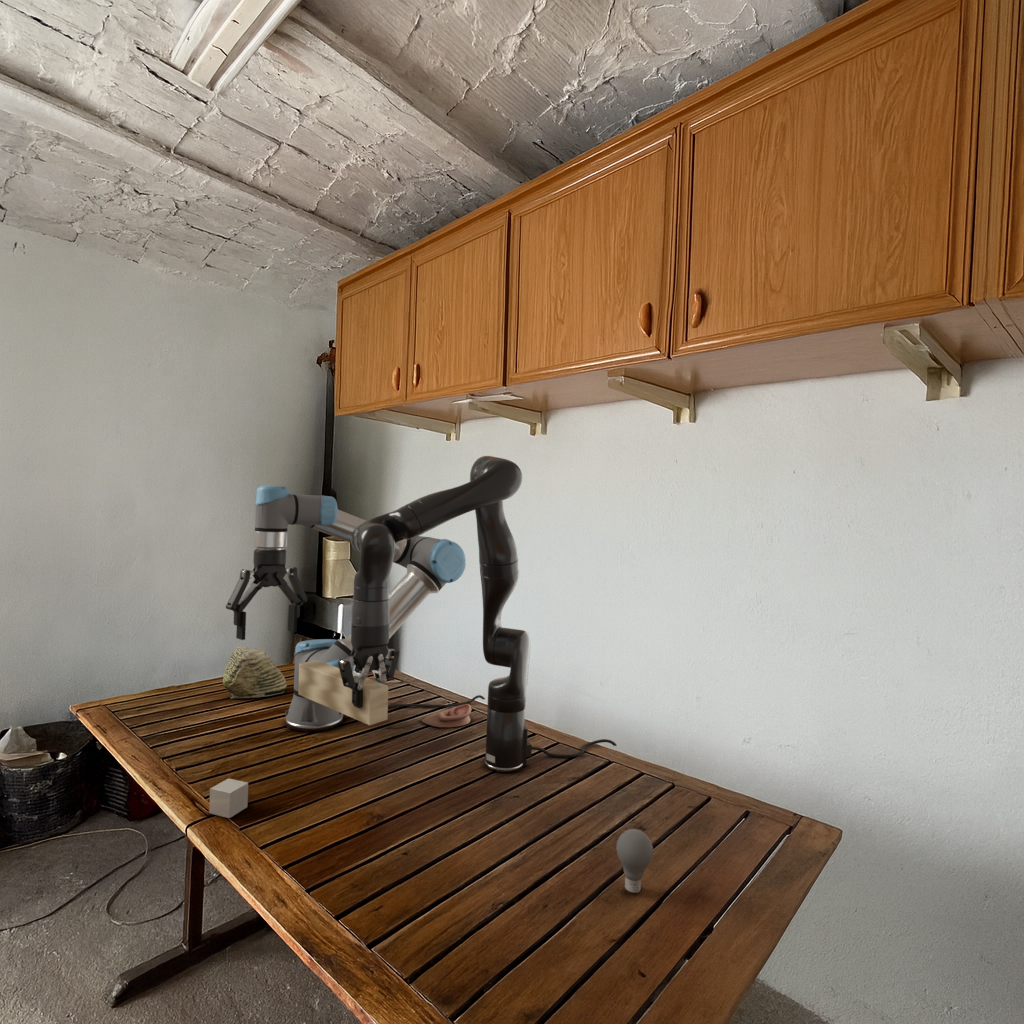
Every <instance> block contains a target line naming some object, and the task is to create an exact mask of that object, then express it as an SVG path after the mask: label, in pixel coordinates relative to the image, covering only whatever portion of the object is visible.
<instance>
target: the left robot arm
mask: <svg viewBox="0 0 1024 1024" xmlns="http://www.w3.org/2000/svg"><path fill="white" fill-rule="evenodd" d="M254 506H255V508H254V509H255V510H254V518H255V519H254V540H253V541H254V542H253V547H255V549H254V550H253V560H252V561H253V569H252V570H249V569H244V568H243V569H241V570H240V572H239V578H238V581H237V582H236V585H235V587H234V588H233V591H232V592H231V595H230V597H229V599H228V601H227V602H226V605H225V609H226V610H229V611H233V625H234V626H236V631H235V632H236V633H235V635H236V637H235V638H236V639H238V640H239V641H240V640H241V641H244V640H246V631H247V630H246V626H247V612H246V611H244V610H245V609H246V607H247V606H248V605H249V604H250V602H251V601H252V600H253V598H254V597H255V596H256V595H257V593H258V592H259V591H260V590H262V589H263V588H270V587H278V588H279V589H280V591H281V592H282V594H284V595H285V597H286V598H287V599H288V600H289V602H290V603H291V604H288V612H287V614H288V616H287V631H288V632H292V633H296V632H297V630H298V629H297V625H298V619H299V618H300V615H301V612H300V611H301V607H302V606H303V605H304V603H307V602H308V597H307V594H306V593H305V590H304V588H303V586H302V583H301V580H300V578H299V577H298V568H297V567H296V566H290V565H289V566H288V567H286V565H287V554H288V553H287V550H286V549H285V548H287V547H288V526H289V525H290V526H291V525H292V526H293V525H294V526H295V525H299V526H303V527H307V528H310V529H311V530H315V531H318V532H321V533H323V534H326V535H329V536H331V537H334V538H336V539H340V540H342V541H345V542H346V543H347V542H348V543H350V544H351V536H352V533H353V531H354V530H355V528H356V527H357V526H359V525H360V524H362V523H363V522H365V521H367V520H366V519H365V518H364V519H363V518H361V517H359V516H356V515H354V514H350V513H348V512H346V511H343V510H341V509H339V507H338V501H337V500H336V498H335V497H334V496H330V495H329V496H328V495H323V494H322V495H315V494H314V495H311V494H299V493H291V492H290V489H289V487H288V486H282V485H281V486H280V485H260V486H258V487H257V489H256V494H255V503H254ZM466 559H467V557H466V554H465V551H464V549H463V547H462V546H460V545H459V543H457V542H455V541H452V540H449V539H447V538H442V539H441V538H435V537H431V536H422V535H419V536H417V537H415V538H413V539H408V540H401V541H399V542H397V543H395V552H394V558H393V563H394V564H396V565H399V566H401V567H402V568H403V567H404V568H405V569H406V574H405V575H404V576H403V577H402V578H401V579H400V580H399V581H398V582H397V583H396V585H394V587H393V588H392V589H391V590H389V608H390V616H389V640H390V639H391V638H392V636H393V635H394V634H395V633H396V632H397V631H398V630H399V629H400V627H401V626H402V625H403V624H405V622H406V621H407V620H408V618H409V617H410V616H411V615H412V614H413V613H414V612H415V611H416V610H417V608H418V607H419V606H420V605H421V604H422V603H423V602H424V601H425V600H426V598H427V597H428V596H429V595H430V594H438V593H439V592H440V591H441V589H443V588H444V587H445V585H446V584H451V583H454V582H456V581H458V580H459V579H460V578H462V576H463V575H464V572H465V570H466V565H467V563H466ZM285 576H287V577H288V580H289V582H290V584H291V587H292V588H291V587H290V586H289V585H288V584H289V583H288V581H286V579H285ZM252 578H253V580H252V581H251V583H250V580H251V579H252ZM249 583H250V584H249ZM248 585H249V587H248ZM247 587H248V588H247ZM351 652H352V644H351V633H350V634H349V635H348V636H347V637H346V638H339V639H332V638H323V639H322V638H320V639H307V640H303V641H299V642H297V644H296V645H295V650H294V653H293V654H294V655H293V656H294V672H293V673H294V674H293V695H292V696H293V697H292V699H291V702H290V704H289V708H288V709H285V713H284V714H285V715H284V716H285V726H286V728H287V729H289V730H291V731H294V732H295V731H296V732H301V733H316V732H325V731H329V730H332V729H335V728H337V727H339V726H340V725H342V723H343V722H344V714H342V713H340V712H338V711H335V710H333V709H331V708H328V707H326V706H324V705H321V704H319V703H317V702H315V701H312V700H310V699H308V698H305V697H303V696H301V695H299V694H298V691H299V664H300V663H305V662H310V661H315V660H318V661H320V662H323V663H326V664H329V665H332V666H334V667H337V668H339V665H338V661H339V659H346V658H348V657H349V656H350V654H351ZM354 665H355V664H354V663H352V666H353V668H354ZM353 668H352V672H353ZM359 672H360V673H362V671H360V670H359ZM477 699H481V700H486V698H485V697H484V696H483V695H480V694H478V695H476V696H474V697H472V698H471V699H469V700H467V701H462V702H457V703H456V702H455V703H449V704H446V703H445V704H429V703H428V704H427V703H396V704H394V703H393V704H388V709H389V708H390V709H391V708H398V707H401V708H403V707H404V708H405V707H406V708H407V707H408V708H411V707H412V708H417V707H419V708H420V707H422V708H453V707H456V706H460V705H464V704H469V705H470V703H472V702H474V701H475V700H477ZM470 700H471V701H470Z"/></svg>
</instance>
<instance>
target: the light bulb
mask: <svg viewBox="0 0 1024 1024" xmlns="http://www.w3.org/2000/svg"><path fill="white" fill-rule="evenodd" d="M615 849H616V854H617V857H618V859H619V861H620V863H621V865H622V867H623V873H624V874H623V875H624V876H625V878H624V888H625V890H627V891H628V892H630V893H634V894H635V893H639V892H640V891H641V889H642V887H641V886H642V879H643V877H644V875H645V871H646V868H647V867H648V866H649V864H650V863H651V861H652V859H653V855H654V847H653V843H652V841H651V838H649V836H648V835H647V834H646V833H645V832H643V831H642V830H641V829H636V828H629V829H627V830H625V831H623V832H622V833H621V834H620V835H619V837H618V839H617V841H616V847H615Z"/></svg>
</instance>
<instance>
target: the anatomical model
mask: <svg viewBox="0 0 1024 1024" xmlns="http://www.w3.org/2000/svg"><path fill="white" fill-rule="evenodd" d="M471 713H472V706H471V705H470V703H469V704H464V705H460V706H453V707H449V708H448V709H445V710H442V711H439V712H435V713H432V714H429V715H428V716H425V717H424V718H423V719H421V722H422V723H424V724H426V725H429V726H431V727H436V728H455V727H461V726H465V725H468V724H469V723H470V722H471V716H470V715H471Z"/></svg>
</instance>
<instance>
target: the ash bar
mask: <svg viewBox="0 0 1024 1024" xmlns="http://www.w3.org/2000/svg"><path fill="white" fill-rule="evenodd" d="M362 690H363V707H362V708H357V707H355V706H354V705H353V704H352V689H350V688H348V687H345V686H343V682H342V678H341V674H340V669H339V668H337V667H334V666H332V665H329V664H326V663H323V662H320V661H318V660H315V661H310V662H305V663H300V664H299V691H298V694H299V695H301V696H303V697H305V698H308V699H310V700H312V701H315V702H317V703H319V704H321V705H324V706H326V707H328V708H331V709H333V710H335V711H338V712H340V713H342V714H343V716H344V715H345V716H347V717H349V718H351V719H354V720H356V721H358V722H360V723H363V724H365V725H367V726H371V725H376V724H378V723H382V722H385V721H387V720H388V717H389V715H388V711H389V708H388V705H389V685H387V684H386V683H385V684H382V683H379V682H376V681H375V679H374V680H373V679H371V678H368V677H367V678H366V679H365V681H364V684H363V688H362Z"/></svg>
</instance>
